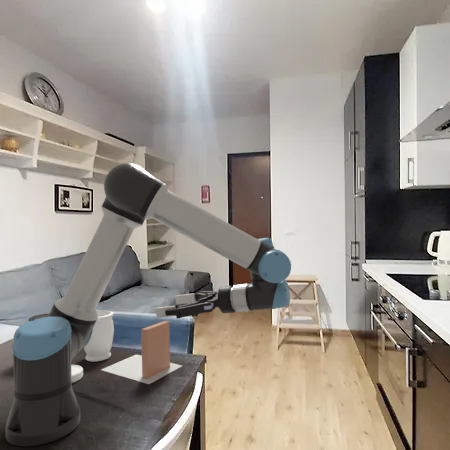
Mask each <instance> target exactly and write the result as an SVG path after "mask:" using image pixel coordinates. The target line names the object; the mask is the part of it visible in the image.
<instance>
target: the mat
mask: <svg viewBox="0 0 450 450" xmlns="http://www.w3.org/2000/svg"><path fill="white" fill-rule="evenodd" d="M181 367H183V365H181V364H177V363H174V362H170V367H168V368H167V369H165V370H163V371H161V372H159V373H157V374H155V375H153V376H151V377H150V378H148V379H147V378H144V377H142V354H141V355H140V354H134V355H131V356H130V357H128V358H125V359H123V360H120V361H118V362H116V363H113V364H110V365H108V366H105V367H104V368H101V369H100V371H103V372H106V373H110V374H112V375H116V376H119V377H123V378H126V379H130V380H134V381H137V382H139V383H143V384H146V385H151V384H152V383H154V382H156V381H158V380H159V379H162V378H163V377H165V376H167V375H169V374H170V373H172V372H174V371H177V369H180V368H181Z"/></svg>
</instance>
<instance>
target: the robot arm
mask: <svg viewBox="0 0 450 450" xmlns="http://www.w3.org/2000/svg"><path fill="white" fill-rule="evenodd" d="M103 191H104V195H105V198H104V199H103V203H102V205H101V207H100V208H101V210H102V212H103V216H102V218H101V220H100V223H98V224H99V225H98V227H97V229H96V231H95V233H94V235H93V237H92V239H91V241H90V243H89V244H88V247H87V250H86V251H85V253H84V255H83V257H82V260H81V261H80V264H79V266H78V268H77V269H76V272H75V274H74V276H73V278H72V280H71V282H70V285H69V286H68V288H67V291H66V293H65V295H64V297H61V298H59V299H58V298H57V300H55V301H54V303H53V305H52V307H51V310H50V312H49V313H48V314H49V315H48V317H43V318H38V319H35V320H34V321H29V320H28V321H27V322H24V323H23V324H21V325H20V326H19V327H18V328H17V329H16V330H15V332H14V334H13V342H12V345H11V346H12V349H11V350H12V358H13V361H12V362H13V363H12V365H13V395H14V396H13V402H12V404H11V408H10V411H9V414H8V417H7V419H6V423H5V428H4V429H5V439H6V442H8V443H9V444H11V445H13V446H17V447H35V446H36V447H37V446H40V445H41V446H42V445H45V444H49V443H53V442H55V441H57V440H59V439H62V438H63V437H65V436H67V435H68V434H70V433H72V432H73V431H74V430H75V429H76V428H77V427H78V426H79V424H80V423H81V407H80V405H79V402H78V400H77V397H76V395H75V392H74V390H73V386H72V384H73V383H72V380H71V378H72V377H71V365H72V361H74V359H75V358H76V357H77V355H78V354H79V353H80V352H81V351H82V350H83V349H84V347H85V346H86V345H87V344H88V342H89V340H90V338H91V336H92V332H93V327H94V325H95V323H96V320H97V318H98V314H97V311H98V310H97V307H98V305H99V303H100V301H101V298H102V297H103V294H104V293H105V291H106V288H107V286H108V285H109V282H110V280H111V278H112V276H113V274H114V272H115V269H116V267H117V265H118V263H119V261H120V259H121V257H122V255H123V253H124V251H125V249H126V247H127V244H128V243H129V240H130V239H131V237H132V234H133V232H134V230H135V229H136V228H139V227H141V226H142V227H143V225H144V222H145V221H147V220H150V219H153V220H155V221H157V222H159V223H161V224H162V225H164V226H166V227H168V228H170V229H172V230H173V231H175V232H177V233H179V234H181V235H182V236H185V237H187V238H189V239H190V240H192V241H194V242H196V243H198V244H200V245H202V246H203V247H205V248H207V249H209V250H211V251H213V252H214V253H216V254H218V255H219V256H221V257H224V258H226V259H227V260H230V261H231V262H233V263H235V264H237V265H238V266H241V267H243V269H246V270H248V271H249V273H250V279H251V283H242V284H233V286H232V285H226V286H221V287H219V289H218V290H217V291H216V290H210V291H209V290H199V291H198V292H196V293H187V294H186V293H185V294H177V295H175V296H174V298H175V299H174V300H175V304H174V305H170V306H169V305H168V306H161V307H155V308H154V309H155V315H156V319H160V318H168V317H169V318H171V317H176V318H175V319H181V318H186V317H190V316H196V315H199V314H203V313H204V314H205V313H212V312H213V310H216V308H218V309H219V311H220V312H221V313H222V314H230V313H231V314H234V313H235V312H237V313H239V312H244V313H245V314H248V313H249V312H251V311H262V310H263V311H264V310H275V309H281V308H287V307H288V306H290V303H291V295H290V293H291V292H290V287H289V283H288V281H287V280H286V279H288V277H289V276H290V274H291V270H292V261H291V260H290V258H289V257H288V255H287V254H286V253H284V252H283V251H281V250H279V249H276V248H275V246H274V244H273V243H274V242H273V240H272V239H271V238H270V237H263V238H261V237H260V238H256V237H254V236H253V235H250V234H249V233H247V232H245V231H243V230H242V229H239V228H238V227H236V226H234V225H232V224H230V223H229V222H227V221H225V220H223V219H222V218H220V217H217V216H216V215H214V214H212V213H210V211H209V212H208V211H207V210H205V209H203V207H200V206H198V205H196V204H195V203H193V202H190V201H189V200H188V199H185V198H183V197H182V196H181V195H178V194H176V193H174V192H173V191H170V190H169V189H168V186H167V184H166V183H165V182H163V181H162V180H160V179H158V178H157V177H155V176H154V175H152V174H151V173H149V172H148V171H147V170H146V169H145V168H144V167H142V166H141V165H139V164H136V163H132V162H123V163H120V164H118V165H115V166H114V167H112V168H111V169H110V170H109V171H108V173H107V174H106V177H105V178H104V183H103ZM182 304H183V305H182Z"/></svg>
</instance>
